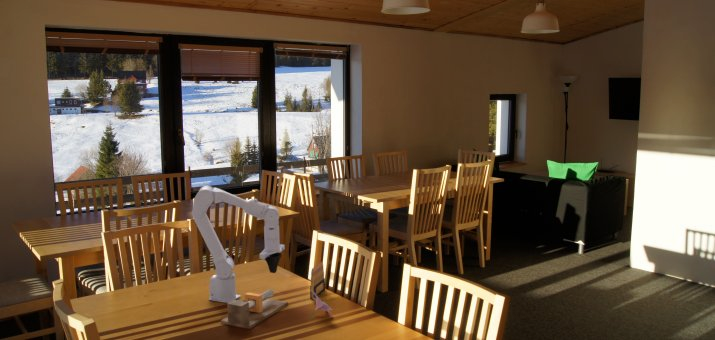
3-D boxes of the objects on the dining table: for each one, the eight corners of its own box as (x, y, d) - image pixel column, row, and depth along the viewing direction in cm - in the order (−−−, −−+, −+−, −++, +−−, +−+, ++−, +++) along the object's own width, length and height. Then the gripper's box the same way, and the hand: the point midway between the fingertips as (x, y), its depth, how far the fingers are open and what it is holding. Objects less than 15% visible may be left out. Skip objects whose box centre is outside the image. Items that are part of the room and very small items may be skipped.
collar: (245, 310, 212) (244, 294, 212) (248, 308, 214) (248, 292, 213) (259, 312, 210) (258, 296, 209) (262, 310, 212) (262, 294, 211)
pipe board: (221, 323, 205) (220, 302, 204) (260, 300, 226) (260, 281, 225) (249, 328, 200) (249, 307, 199) (287, 304, 221) (287, 285, 220)
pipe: (238, 312, 206) (238, 305, 206) (268, 295, 222) (267, 288, 222) (245, 313, 205) (244, 306, 205) (273, 296, 221) (273, 289, 221)
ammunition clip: (314, 299, 226) (313, 269, 225) (310, 298, 227) (309, 268, 225) (325, 290, 236) (324, 261, 235) (321, 289, 237) (320, 260, 235)
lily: (331, 328, 202) (341, 301, 204) (299, 315, 202) (309, 288, 204) (328, 325, 214) (338, 299, 216) (298, 313, 214) (308, 287, 216)
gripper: (270, 243, 219) (271, 279, 221) (290, 234, 232) (291, 268, 234) (254, 241, 222) (255, 276, 224) (275, 232, 235) (276, 266, 237)
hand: (273, 272), depth 230 cm, fingers closed
